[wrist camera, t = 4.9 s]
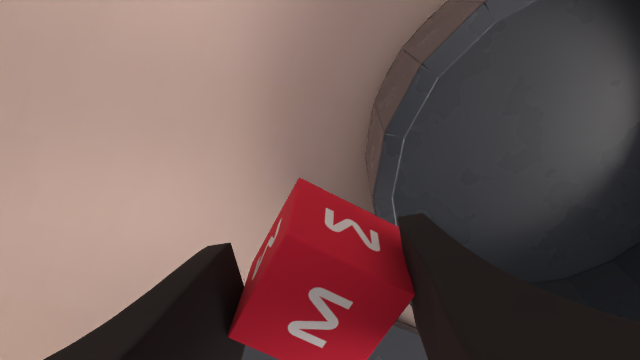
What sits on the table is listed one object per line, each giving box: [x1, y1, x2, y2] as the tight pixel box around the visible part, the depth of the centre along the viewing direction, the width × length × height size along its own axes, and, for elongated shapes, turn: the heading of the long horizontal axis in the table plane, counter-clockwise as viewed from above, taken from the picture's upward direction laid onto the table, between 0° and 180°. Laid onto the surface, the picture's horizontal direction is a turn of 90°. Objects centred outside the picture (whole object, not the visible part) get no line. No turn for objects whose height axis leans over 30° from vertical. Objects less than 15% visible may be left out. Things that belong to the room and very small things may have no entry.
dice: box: [228, 178, 415, 360], centre depth 11 cm, size 3×3×3 cm
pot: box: [366, 0, 640, 322], centre depth 16 cm, size 14×14×5 cm
